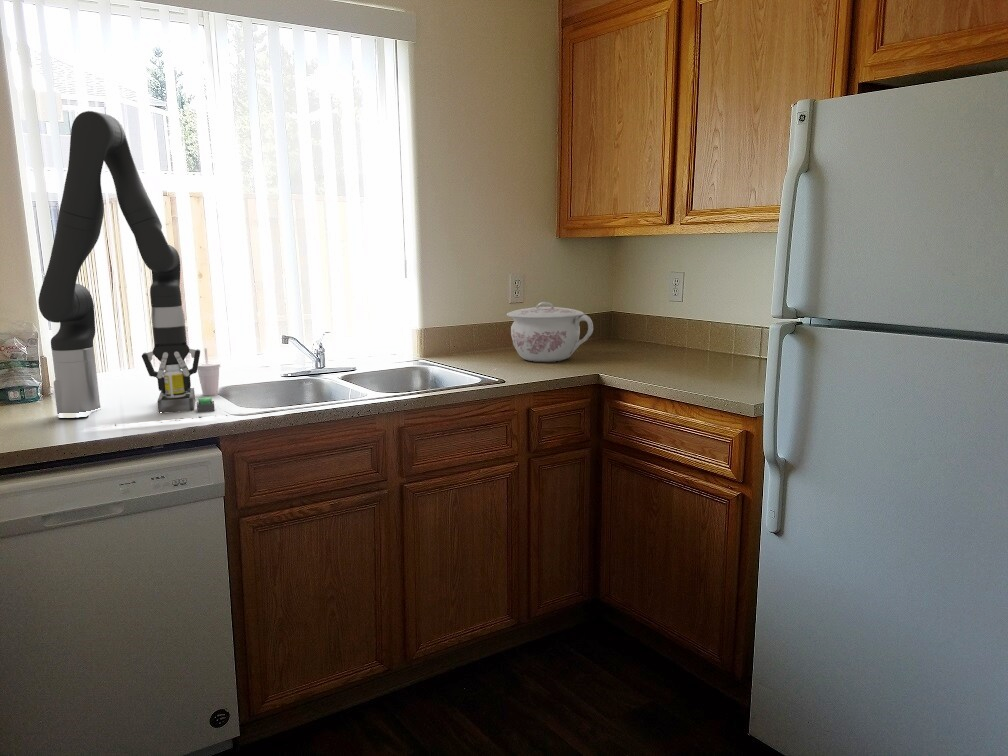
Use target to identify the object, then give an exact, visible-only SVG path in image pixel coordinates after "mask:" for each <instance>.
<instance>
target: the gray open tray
mask: <svg viewBox="0 0 1008 756" xmlns="http://www.w3.org/2000/svg"><path fill="white" fill-rule="evenodd" d="M195 395H196V394H195V387H190V388H189V389H188V393H186V395H185V396H184V397H179V398H167V397H166V395H165V393H162V391H160V393H159V396H158V397H157V409H158V410H157V411H158V412H159V413H160V412H162V413H161V414H165V413H164V412H173V413H177V412H176V411H180V412H179V413H182V412H183V413H184V412H194V411H195V407H196V399H195V398H196V396H195ZM158 412H157V413H158Z"/></svg>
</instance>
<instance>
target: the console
mask: <svg viewBox="0 0 1008 756" xmlns="http://www.w3.org/2000/svg"><path fill="white" fill-rule="evenodd" d="M210 402H211V404H201V405H200V402H198V401H197V402H196V411H197V413H206V412H215V410H216V409H215V400H212V401H210Z"/></svg>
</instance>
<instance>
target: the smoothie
mask: <svg viewBox="0 0 1008 756" xmlns="http://www.w3.org/2000/svg"><path fill="white" fill-rule="evenodd" d="M204 359H205V360H204V361H205V362H203V363H198V368H197V374H198V377H199V379H198V380H199V384H200V388H201V392H202V396H204V395H211V396H216V395H218V394H219V383H220V382H219V380H220V368H221V363H220V362H214V361H213V362H209V361H208V350H207V348H206V347H205V348H204Z"/></svg>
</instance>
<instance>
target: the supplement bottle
mask: <svg viewBox="0 0 1008 756" xmlns="http://www.w3.org/2000/svg"><path fill="white" fill-rule="evenodd" d="M163 378H164V386H165V395H166V397H167V398H179V397H184V396H185V395H186V391H185V385H184V373H183V371H182V369H181V367H180V365H179V364H171V365H165V369H164V373H163Z"/></svg>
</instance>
